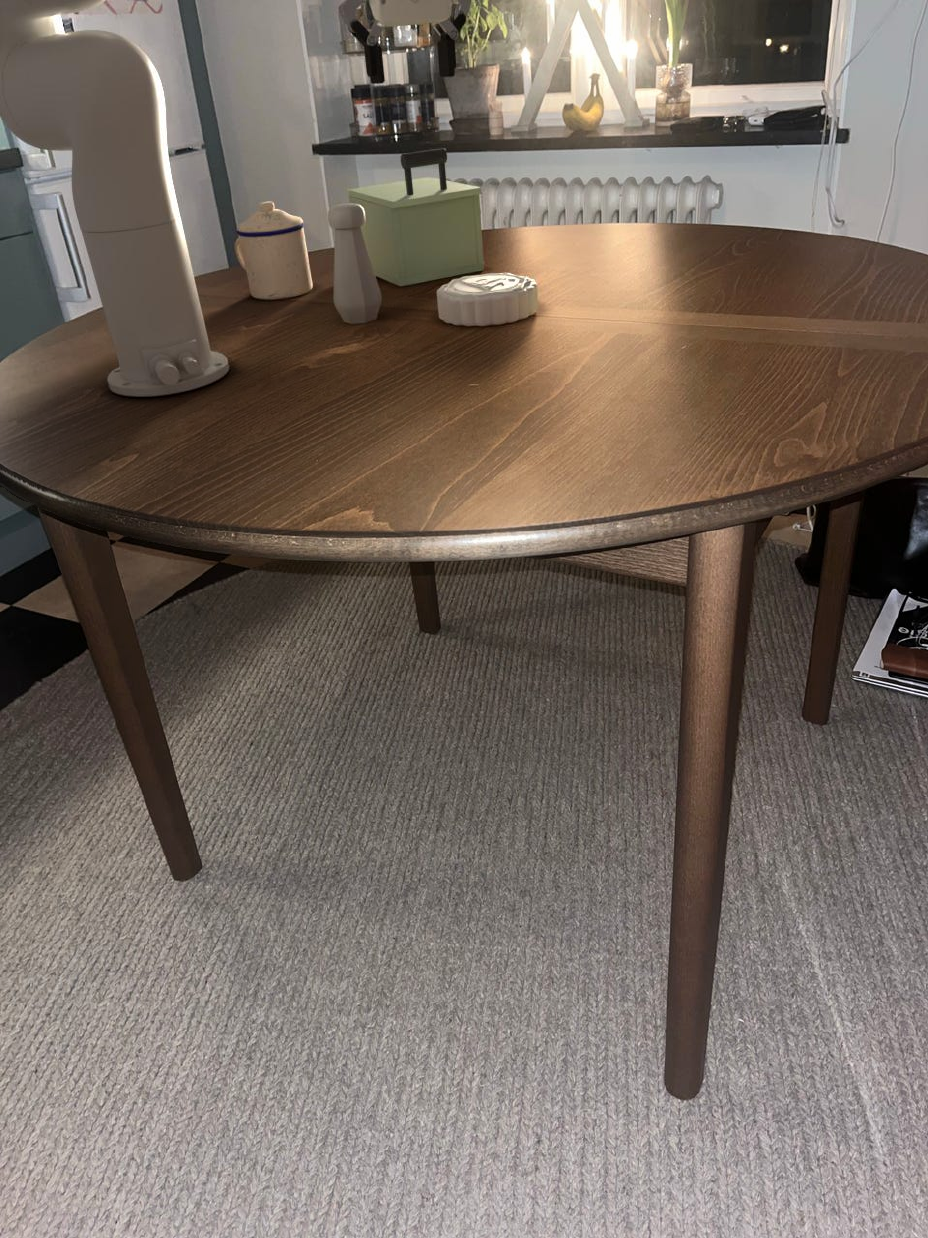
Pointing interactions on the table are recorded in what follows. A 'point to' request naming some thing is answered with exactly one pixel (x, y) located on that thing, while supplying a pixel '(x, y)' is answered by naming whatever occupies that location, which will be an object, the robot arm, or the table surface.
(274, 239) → the teacup with lid
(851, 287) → the table surface
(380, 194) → the green lid with handle
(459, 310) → the mooncake
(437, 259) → the green rectangular box
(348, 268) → the salt shaker
